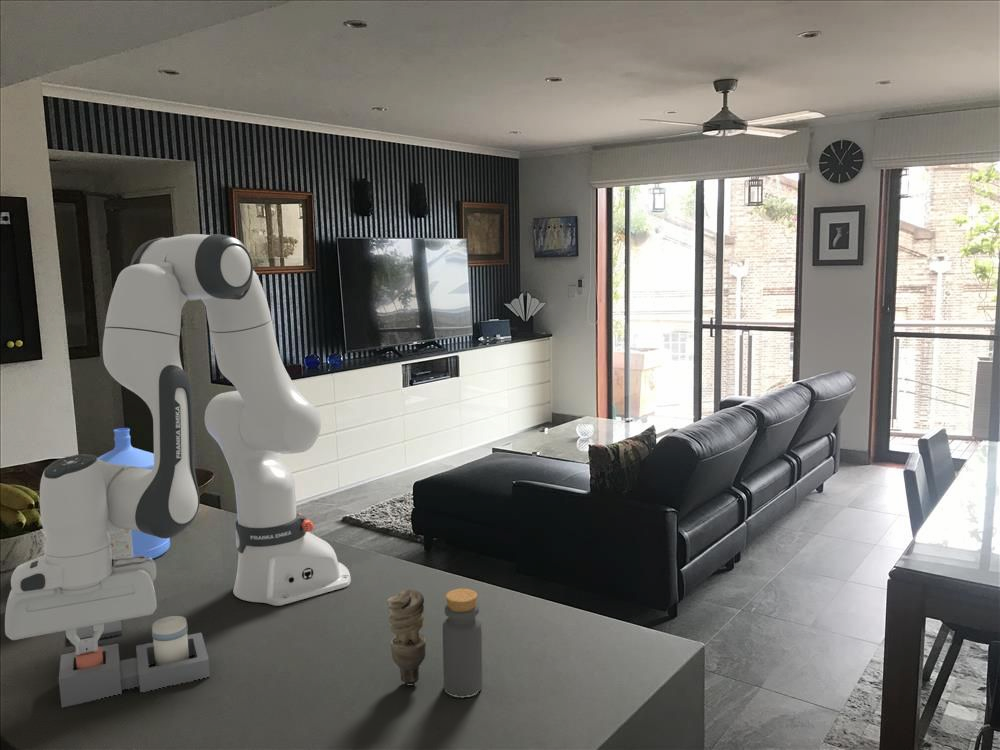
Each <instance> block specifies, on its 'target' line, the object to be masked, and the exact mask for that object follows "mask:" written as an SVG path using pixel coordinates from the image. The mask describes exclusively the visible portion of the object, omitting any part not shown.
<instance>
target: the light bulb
mask: <svg viewBox="0 0 1000 750" xmlns="http://www.w3.org/2000/svg"><path fill="white" fill-rule="evenodd" d="M424 603H425V598H424V596H423V594H422V593H421V592H420V591H418V590H415V589H404V590H403V591H400V592H398V594H397V595H394V596H390V597H389V598H388V599H387V600H386V604H387V606H388V608H387V613H388V615H390V616H389V617H388V620H389V623H390V624H391V627H390V631H391V633H393V634H396V635H395V636H394V637H392V639H391V641H390V652H391V658H392V660H393V662H394V663H395V664H396V665H397V666H398V668H399V672H400V681H401V682H403V683H405V685H406V684H414V685H415V683H418V681H419V680H420V666H421V664H422V663H423V661H424V659H425V657H426V647H427V644H426V639H425V637H424V635H422V634H419V633H420V632H419V631H420V630H421V629H422V628H423V625H424V619H425V618H424V617H425V615H424V612H425V607H424V606H425V605H424Z"/></svg>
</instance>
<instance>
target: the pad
mask: <svg viewBox="0 0 1000 750" xmlns="http://www.w3.org/2000/svg"><path fill="white" fill-rule="evenodd" d="M122 629H123V628H122V620H120V621H114V622H109V623H104V631H103V633H102V634H101V636H100V638H102V639H105V638H104V637H107V638H111V637H110V636H112V637H116V635H117V636H122V635H123V630H122ZM94 633H95V631H94V627H93V626H87V627H82V628H77V633H76V635H77V636H78V637H79V638H80V640H82V639H87V638H92V637H93V635H94ZM121 634H122V635H121ZM69 645H73V644H72V643H71V641H70V640H69Z"/></svg>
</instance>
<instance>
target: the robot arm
mask: <svg viewBox="0 0 1000 750" xmlns="http://www.w3.org/2000/svg"><path fill="white" fill-rule="evenodd" d="M253 264H254V263H253V260H252V257H251V254H250V252H249V250H248V249H247V248H246V246H245V245H244V243H243V242H242V241H241V240H239V239H237V238H236V237H233V236H230V235H226V234H221V233H215V234H201V233H191V234H189V233H188V234H187V233H186V234H182V235H179V236H171V237H157V238H154V239H150V240H147V241H146V242H144V243H142V244H141V245H140V246H139V247H138V248H137V249H136V250H135V252H134V254H133V256H132V258H131V262H130V264H129V266H127V267H125V268H124V269H122V270H121V271H120V272H119V274H118V276H117V279H116V281H115V284H114V287H113V289H112V293H111V295H110V300H109V303H108V304H109V305H108V308H107V312H106V317H105V323H104V324H105V325H104V333H103V339H102V358H103V364H104V366H105V369H106V371H107V372H108V373H109V375H110V376H111V377H112V378H113V379H114V380H115V381H116V382H117V383H119V384H120V385H121V386H123V387H125V388H126V389H127V390H129V391H131V392H132V393H134V394H135V395H137V396H138V397H139V398H141V400H143V402H144V403H145V404H146V405H147V407H148V409H149V411H150V413H151V416H152V420H153V421H152V423H153V425H152V426H153V427H152V428H153V454H154V467H153V469H145V468H139V467H134V466H126V465H117V464H112V463H108V462H104V461H102V460H100V459H98V456H96V455H93V454H91V453H90V454H87V453H86V454H85V453H83V454H81V453H80V454H74V455H70V456H64V457H61V458H58V459H56V460H55V461H52V462H51V463H50V464H49V465H48V466H46V467H45V469H44V470H43V473H42V476H41V478H40V483H39V510H40V512H39V513H40V521H41V522H40V523H41V526H42V528H43V531H44V534H45V541H44V546H43V554H42V555H41V556H38V557H36V558H34V559H31V560H29V561H26V562H25V563H24V562H23V563H21V564H20V565H18V566H16V567H15V569H14V570H13V573H12V574H11V577H10V587H11V589H10V592H9V595H8V597H7V602H6V606H5V614H4V633H5V636H6V637H7V638H8V639H10V640H11V641H16V640H23V639H27V638H33V637H37V636H38V637H39V636H42V635H48V634H54V633H55V634H56V633H59V632H64V631H65V637H66V638H67V639H68V641H69V642H70V641H71V643H72V645H73V646H74V647H75V652H76V656H78V655H82V654H87V653H93V652H98V646H99V645H98V642H99V640H100V639H99V638H100V636H101V634H102V633H103V631H104V623H109V622H114V621H120V620H121V621H126V620H130V619H135V618H140V617H145V616H151V615H153V614H154V612H155V611H156V610H157V608H158V605H157V597H156V591H155V587H154V581H155V580H156V578H157V575H158V573H157V570H158V569H157V564H156V562H155V560H154V559H151V558H147V557H145V556H136V557H132V558H121V559H115V560H113V559H112V550H111V539H110V535H109V534H110V531H111V530H112V529H115V528H118V527H119V528H122V529H128V530H134V531H140V532H143V533H146V534H149V535H153V536H156V537H159V538H173V537H175V536H178V535H179V534H180V533H182V532H183V531H184V530H186V529H187V528H188V527H189V526H190V525H191V523H193V521H194V520H195V518H196V516H197V514H198V512H199V507H200V501H201V500H200V498H201V497H200V490H199V485H198V480H197V475H196V469H195V468H196V466H195V435H194V434H195V431H194V430H195V427H194V426H195V425H194V402H193V399H194V398H193V390H192V383H191V379H190V377H189V376H188V374H187V372H186V371H185V370H184V369H183V366H182V361H181V355H180V336H181V327H182V325H181V324H182V311H183V308H184V306H185V304H186V303H187V301H199V300H201V301H202V302H203V304H204V305H205V309H206V310H205V311H206V317H207V322H208V327H209V332H210V337H211V340H212V345H213V351H214V354H215V359H216V363H217V366H218V369H219V372H221V374H222V375H223V376H224V378H226V379H227V380H228V381H229V382H230V383H232V385H233V386H234V388H236V390H233V391H231V390H230V391H227V392H222V393H219V394H216V395H215V396H214V397H212V399H211V400H210V401H209V402H208V403H207V406H206V408H205V411H204V412H205V413H204V426H205V429H206V431H207V432H208V434H209V435H210V436H211V437H212V438H213V439H214V440H215V441H216V443H217V444H218V446H219V447H220V449H221V452H223V453H222V454H223V455H224V458H225V460H226V462H227V465H228V467H229V471H230V473H231V476H232V480H233V484H234V492H235V500H236V502H235V503H236V514H237V520H236V521H235V529H234V530H235V545H236V549H237V552H238V557H237V558H238V559H237V570H236V577H235V582H234V586H233V591H232V592H233V594H234V596H235V597H236V598H238V599H240V600H243V601H246V602H251V603H264V604H268V605H272V606H284V605H287V604H292V603H294V602H299V601H301V600H304V599H308V598H312V597H316V596H318V595H322V594H323V595H324V594H326V593H328V592H333V591H335V590H336V591H337V590H340V589H343V588H346V587H348V586H349V585H350V584H351V582H352V579H351V573H350V571H349V569H348V567H346V566H345V564H343V563H341V562H339V561H338V557H337V554H336V552H335V550H334V548H333V547H332V545H331V544H329V543H328V541H326V540H324V539H323V538H320V537H318V536H316V535H315V534H313V533H311V531H313V530H314V523H313V522H312V521H311V519H307V517H306V516H305V515H303V514H302V513H300V512H297V497H296V481H295V478H294V475H293V474H292V472H291V470H289V469H288V468H287V467H286V466H285V464H284V463H283V461H282V460H281V458H280V456H279V455H288V454H289V455H290V454H301V453H305V452H306V451H308V450H310V449H312V447H314V445H315V444H316V442H317V440H318V438H319V436H320V433H321V427H322V426H321V425H322V422H321V417H320V414H319V413H320V412H319V411H318V409H317V408H316V407H315V406H314V405H313V404H312V403H311V402H309V401H308V400H307V399H306V398H305V396H303V395H302V394H301V393H300V391H299V390H298V388H297V386H296V385H295V384H294V382H293V380H292V379H291V377H290V374H289V373H288V372H287V370H286V368H285V365H284V363H283V360H282V358H281V354H280V350H279V347H278V343H277V338H276V334H275V330H274V325H273V319H272V315H271V310H270V307H269V304H268V303H269V302H268V299H267V297H266V294H265V290H264V288H263V285H262V283H261V281H260V279H259V276H258V274H257V273H256V271H255V270H254V265H253ZM145 560H148V561H145ZM113 566H114V568H113ZM87 626H93V627H94V631H95V633H94V635H93V637H92V638H87V639H82V640H80V638H79V637H78V636H77V635H76V633H77V628H82V627H87Z"/></svg>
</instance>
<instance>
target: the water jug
mask: <svg viewBox="0 0 1000 750" xmlns="http://www.w3.org/2000/svg"><path fill="white" fill-rule="evenodd" d="M130 431H131V429H130V428H129V427H122V428H121V427H120V428H115V429H113V434H114V437H113V438H114V439H113V440H114V445H115V446H114V447H113V449H112V450H110V451H108V452H106V453H104V454H102V455H100V456H97V458H98V459H100V460H102V461H104V462H108V463H112V464H117V465H126V466H134V467H139V468H145V469H153V467H154V452H150V451H146V450H143V449H139V448H136V447H133V446H132V444H131V438H132V437H131V435H130ZM131 535H132V547H133V557H136V556H145V557H147V558H151V559H152V560H154V559H156V558H159V557H160V556H162V555H164V554H165V553H166V552H167V551H168V550H169V549H170V546H171V540H170V538H159V537H156V536H153V535H149V534H146V533H143V532H140V531H134V530H131ZM145 561H148V560H145Z"/></svg>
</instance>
